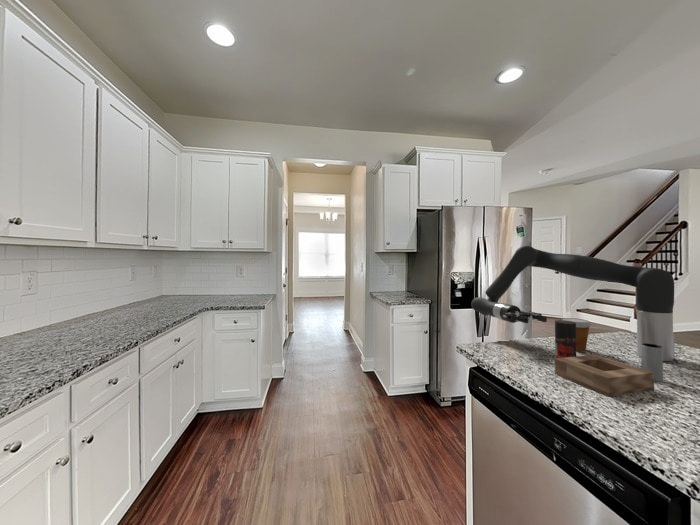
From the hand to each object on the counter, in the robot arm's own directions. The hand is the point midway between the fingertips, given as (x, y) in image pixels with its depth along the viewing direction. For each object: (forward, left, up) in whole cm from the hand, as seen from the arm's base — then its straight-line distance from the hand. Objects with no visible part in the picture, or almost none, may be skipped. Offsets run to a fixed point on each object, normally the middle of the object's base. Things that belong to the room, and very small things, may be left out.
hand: (536, 320), depth 112 cm
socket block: (+3, +26, -13) cm, 29 cm away
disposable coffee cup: (-20, -1, -14) cm, 24 cm away
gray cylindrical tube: (-14, +28, -14) cm, 34 cm away
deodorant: (0, +12, -14) cm, 18 cm away
